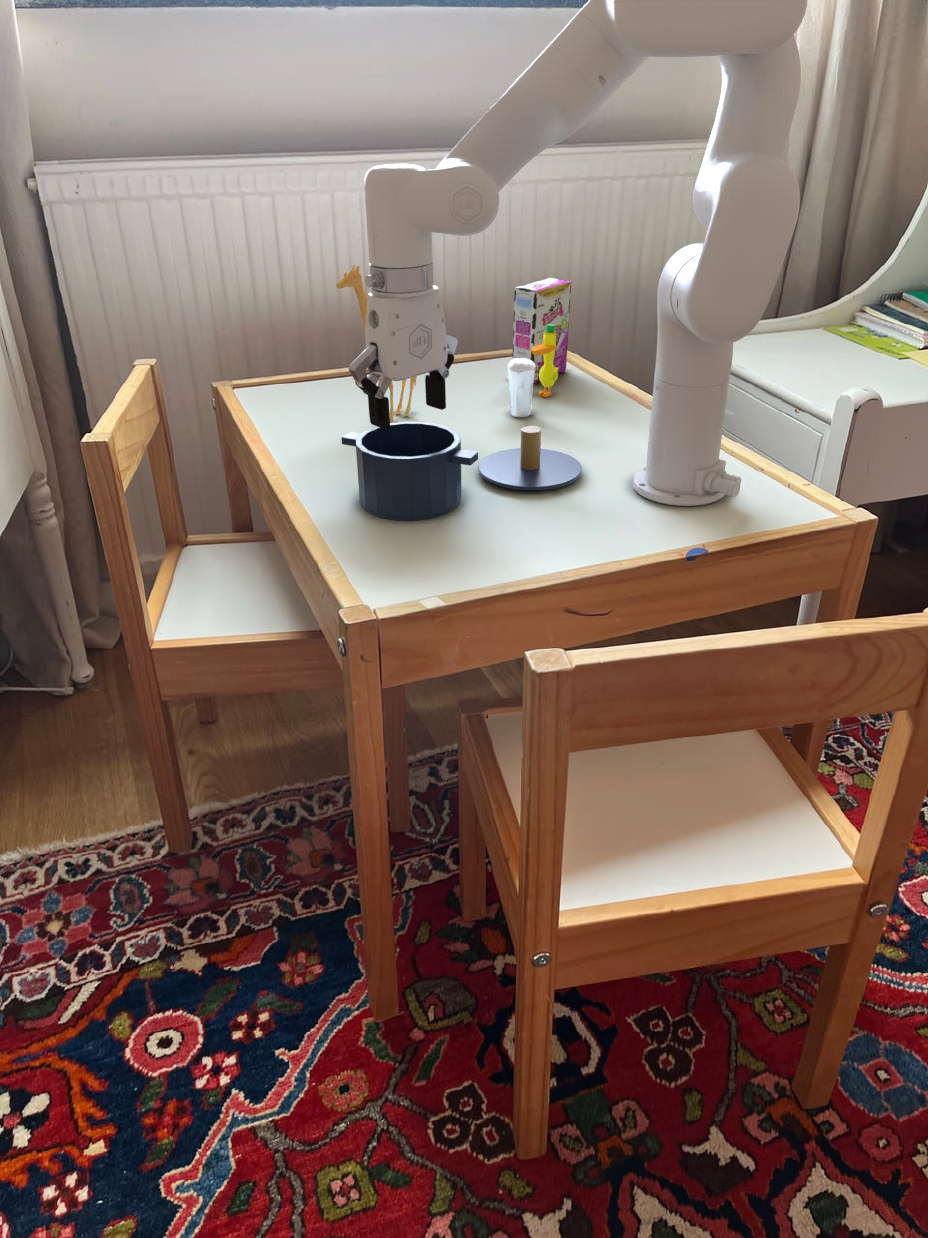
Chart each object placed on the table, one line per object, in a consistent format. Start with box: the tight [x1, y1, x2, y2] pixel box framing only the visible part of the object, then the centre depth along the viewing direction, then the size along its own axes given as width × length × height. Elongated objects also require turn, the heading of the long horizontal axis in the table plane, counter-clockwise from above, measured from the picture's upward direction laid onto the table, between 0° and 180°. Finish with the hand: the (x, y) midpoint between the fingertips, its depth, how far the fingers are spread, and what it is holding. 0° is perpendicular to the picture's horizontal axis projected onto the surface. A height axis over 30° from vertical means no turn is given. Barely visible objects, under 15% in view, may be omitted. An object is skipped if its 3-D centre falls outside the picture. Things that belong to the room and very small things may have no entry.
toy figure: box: [531, 324, 559, 398], centre depth 165 cm, size 7×4×12 cm, turn 133°
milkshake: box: [506, 355, 541, 418], centre depth 157 cm, size 5×5×10 cm
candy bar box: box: [511, 277, 572, 384], centre depth 173 cm, size 11×5×16 cm, turn 141°
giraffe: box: [335, 264, 418, 423], centre depth 151 cm, size 16×4×25 cm, turn 141°
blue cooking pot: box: [340, 421, 479, 522], centre depth 128 cm, size 14×19×8 cm
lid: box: [478, 425, 583, 491], centre depth 136 cm, size 15×15×7 cm
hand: (408, 416), depth 125 cm, fingers open, 9 cm apart
